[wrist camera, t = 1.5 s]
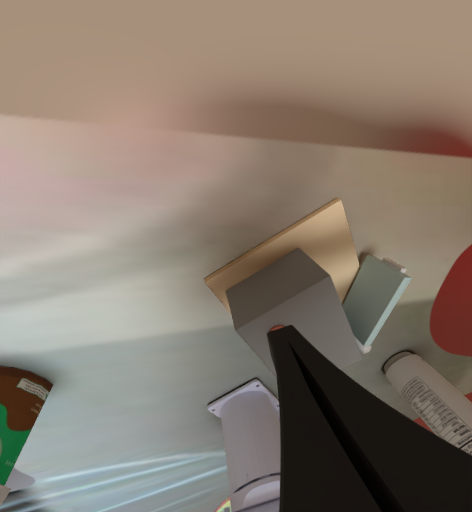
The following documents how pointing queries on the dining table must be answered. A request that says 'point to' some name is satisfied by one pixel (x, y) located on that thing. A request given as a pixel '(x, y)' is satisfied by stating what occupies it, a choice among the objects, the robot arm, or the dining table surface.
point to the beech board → (310, 242)
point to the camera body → (293, 309)
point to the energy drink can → (432, 398)
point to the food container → (17, 415)
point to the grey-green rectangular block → (373, 298)
